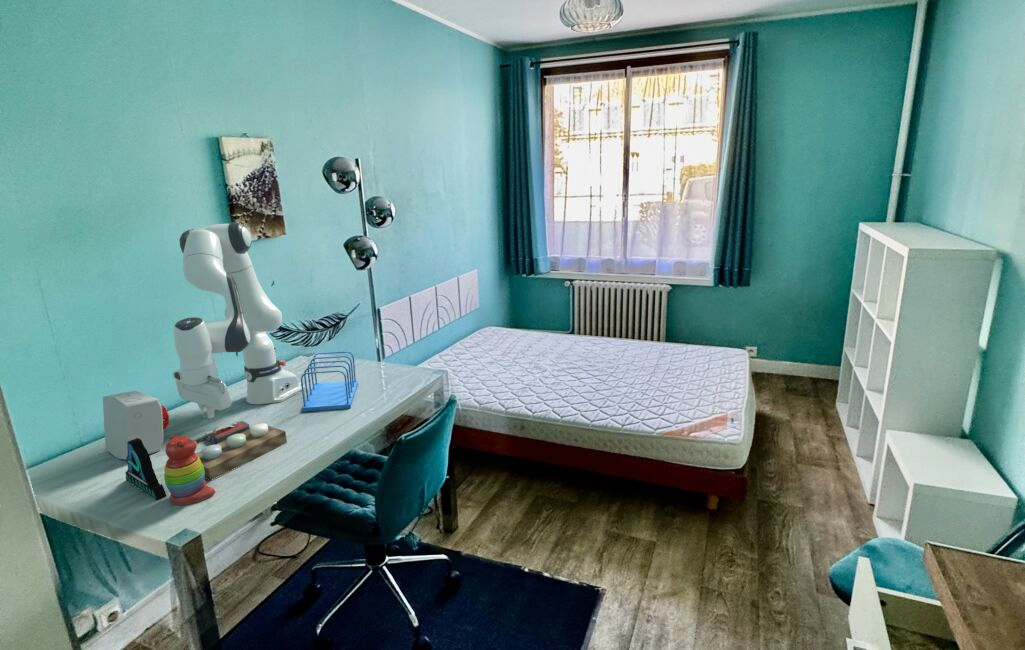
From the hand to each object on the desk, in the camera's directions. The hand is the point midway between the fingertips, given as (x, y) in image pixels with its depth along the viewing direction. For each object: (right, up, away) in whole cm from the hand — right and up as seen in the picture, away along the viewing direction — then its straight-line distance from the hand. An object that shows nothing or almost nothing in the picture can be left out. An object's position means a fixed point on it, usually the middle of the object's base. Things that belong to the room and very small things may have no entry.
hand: (209, 416), depth 160 cm
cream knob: (+8, -10, +15) cm, 20 cm away
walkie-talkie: (-8, -11, +20) cm, 24 cm away
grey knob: (+1, -14, +2) cm, 14 cm away
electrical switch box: (-30, -13, +15) cm, 36 cm away
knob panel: (+5, -14, +9) cm, 17 cm away
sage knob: (+4, -12, +8) cm, 15 cm away
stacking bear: (+2, -20, -12) cm, 23 cm away
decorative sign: (-13, -19, -8) cm, 25 cm away
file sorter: (+19, -2, +52) cm, 55 cm away
